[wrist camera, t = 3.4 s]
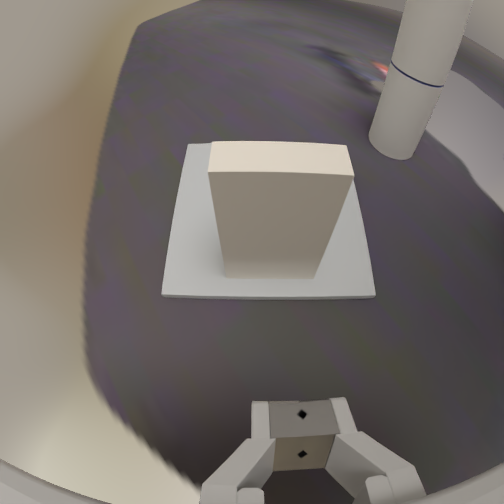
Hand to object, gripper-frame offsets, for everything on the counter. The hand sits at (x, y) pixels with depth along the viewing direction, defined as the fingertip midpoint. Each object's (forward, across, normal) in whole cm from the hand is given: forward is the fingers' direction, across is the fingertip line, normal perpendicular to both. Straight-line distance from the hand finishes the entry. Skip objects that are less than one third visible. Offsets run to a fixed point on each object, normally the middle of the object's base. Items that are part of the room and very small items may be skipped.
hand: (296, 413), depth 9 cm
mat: (+26, 0, -2) cm, 26 cm away
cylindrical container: (+35, -18, -12) cm, 41 cm away
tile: (+20, 0, +2) cm, 20 cm away
